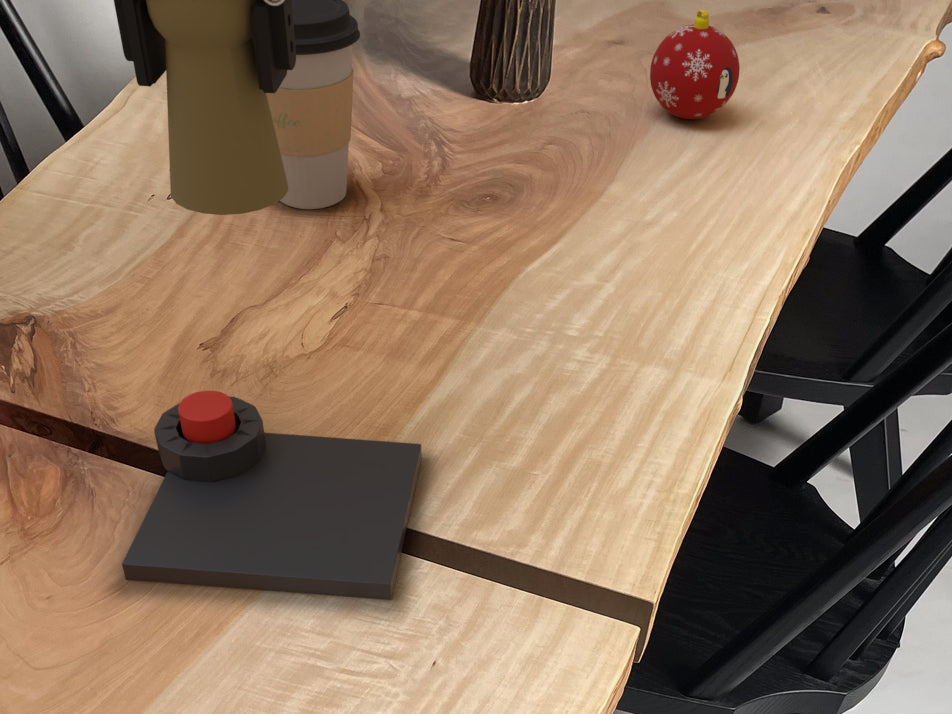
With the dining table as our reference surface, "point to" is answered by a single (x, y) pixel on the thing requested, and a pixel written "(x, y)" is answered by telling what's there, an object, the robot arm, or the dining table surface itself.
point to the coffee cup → (316, 104)
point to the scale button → (207, 417)
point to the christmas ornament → (694, 70)
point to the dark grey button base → (276, 511)
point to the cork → (217, 109)
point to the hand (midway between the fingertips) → (214, 76)
